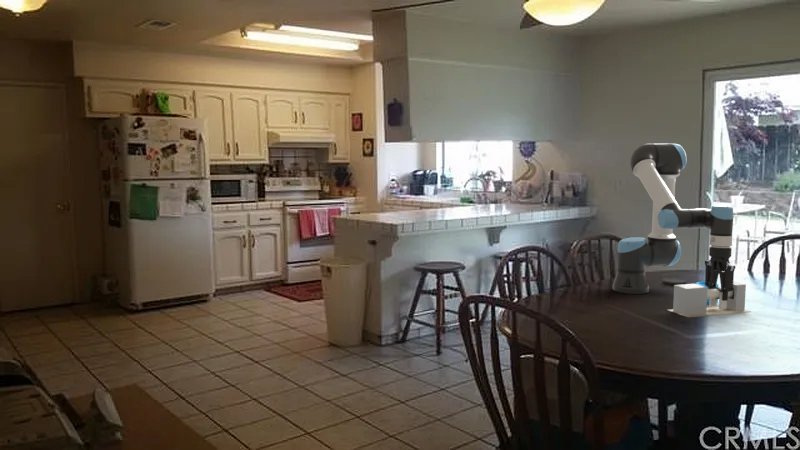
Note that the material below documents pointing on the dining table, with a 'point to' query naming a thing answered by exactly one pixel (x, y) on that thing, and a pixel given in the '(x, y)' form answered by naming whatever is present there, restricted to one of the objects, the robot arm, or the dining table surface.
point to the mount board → (713, 311)
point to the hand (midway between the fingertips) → (717, 306)
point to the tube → (717, 293)
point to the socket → (737, 297)
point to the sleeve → (690, 299)
